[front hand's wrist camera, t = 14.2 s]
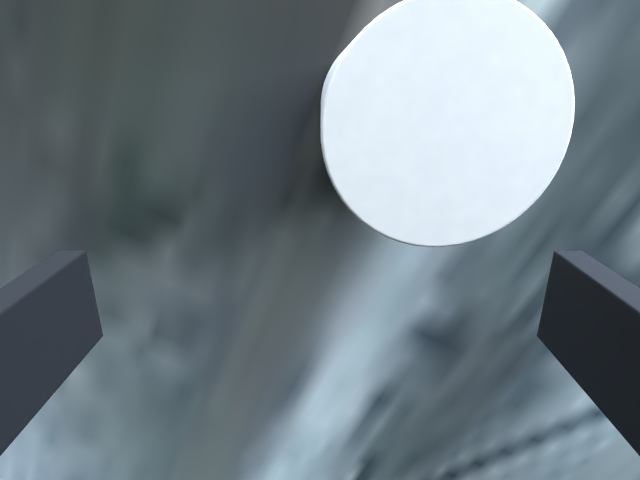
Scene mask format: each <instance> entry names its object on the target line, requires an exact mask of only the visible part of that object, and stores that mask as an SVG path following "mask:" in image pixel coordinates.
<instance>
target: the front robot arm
mask: <svg viewBox="0 0 640 480" xmlns="http://www.w3.org/2000/svg"><path fill="white" fill-rule="evenodd" d="M102 336H103V334H102V329H101V324H100V319H99V314H98V309H97V304H96V299H95V294H94V289H93V284H92V279H91V274H90V269H89V264H88V259H87V254H86V251H58V252H56V253H55V254H53V255H51V256H50V257H48V258H47V259H45V260H44V261H42V262H41V263H39V264H38V265H36V266H34V267H33V268H31V269H30V270H28V271H27V272H25V273H24V274H22V275H21V276H19V277H17V278H16V279H14V280H13V281H11V282H10V283H8V284H7V285H5V286H4V287H2V288H0V456H1V454H2V453H3V452H4V451H5V450H6V449H7V447H8V446H9V445H10V444H11V443H12V442H13V440H14V439H15V438H16V437H17V436H18V435H19V433H20V432H21V431H22V430H23V429H24V428H25V426H26V425H27V424H28V423H29V422H30V420H31V419H32V418H33V417H34V416H35V415H36V413H37V412H38V411H39V410H40V409H41V408H42V406H43V405H44V404H45V403H46V402H47V401H48V399H49V398H50V397H51V396H52V395H53V394H54V392H55V391H56V390H57V389H58V388H59V387H60V385H61V384H62V383H63V382H64V381H65V380H66V378H67V377H68V376H69V375H70V374H71V373H72V371H73V370H74V369H75V368H76V367H77V365H78V364H79V363H80V362H81V361H82V360H83V358H84V357H85V356H86V355H87V354H88V353H89V351H90V350H91V349H92V348H93V347H94V346H95V344H96V343H97V342H98V341H99V340H100V339H101V337H102ZM537 336H538V337H539V339H540V340H541V341H542V342H543V343H544V344H545V346H546V347H547V348H548V349H549V350H550V351H551V353H552V354H553V355H554V356H555V357H556V358H557V360H558V361H559V362H560V363H561V364H562V365H563V367H564V368H565V369H566V370H567V371H568V373H569V374H570V375H571V376H572V377H573V378H574V380H575V381H576V382H577V383H578V384H579V385H580V387H581V388H582V389H583V390H584V391H585V392H586V394H587V395H588V396H589V397H590V398H591V399H592V401H593V402H594V403H595V404H596V405H597V406H598V408H599V409H600V410H601V411H602V412H603V413H604V415H605V416H606V417H607V418H608V419H609V421H610V422H611V423H612V424H613V425H614V426H615V428H616V429H617V430H618V431H619V432H620V433H621V435H622V436H623V437H624V438H625V439H626V440H627V442H628V443H629V444H630V445H631V446H632V447H633V449H634V450H635V451H636V452H637V453H638V454H639V456H640V288H638V287H636V286H635V285H633V284H632V283H630V282H629V281H627V280H626V279H624V278H623V277H621V276H619V275H618V274H616V273H615V272H613V271H612V270H610V269H609V268H607V267H606V266H604V265H602V264H601V263H599V262H598V261H596V260H595V259H593V258H592V257H590V256H589V255H587V254H585V253H584V252H582V251H554V254H553V259H552V264H551V269H550V274H549V279H548V284H547V289H546V294H545V299H544V304H543V309H542V314H541V319H540V324H539V329H538V334H537Z"/></svg>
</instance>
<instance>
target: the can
mask: <svg viewBox="0 0 640 480" xmlns="http://www.w3.org/2000/svg"><path fill="white" fill-rule="evenodd" d="M574 105H575V101H574V87H573V82H572V77H571V72H570V68H569V65H568V63H567V60H566V57H565V55H564V52H563V50H562V49H561V47H560V45H559V43H558V41H557V39H556V38H555V36H554V35H553V34H552V32H551V31H550V30H549V28H548V27H547V26H546V25H545V23H544V22H543V21H541V20H540V19H539V18H538V17H537V16H536V15H535V14H534V13H533V12H532V11H530V10H529V9H528V8H526V7H525V6H523V5H522V4H520V3H519V2H517V1H515V0H404V1H402V2H400V3H398V4H396V5H394V6H392V7H391V8H389V9H388V10H386V11H385V12H383V13H382V14H380V15H379V16H378V17H376V18H375V19H374V20H373V21H372V22H371V23H370V24H368V25H367V26H366V27H365V28H364V29H363V30H362V31H361V32H360V33H359V34H358V35H357V37H356V38H355V39H354V40H353V41H352V42H351V43H350V44H349V45H348V46H347V47H346V49H345V50H344V51H343V52H342V53H341V54H340V55H339V56H338V57H337V59H336V60H335V62H334V63H333V65H332V66H331V68H330V70H329V72H328V74H327V77H326V79H325V82H324V85H323V90H322V96H321V146H322V153H323V158H324V162H325V165H326V169H327V172H328V175H329V177H330V179H331V182H332V184H333V186H334V188H335V190H336V191H337V193H338V195H339V196H340V198H341V200H342V201H343V202H344V203H345V205H346V206H347V207H348V208H349V210H350V211H351V212H352V213H353V214H354V215H355V216H356V217H357V218H358V219H359V220H361V221H362V222H363V223H364V224H366V225H367V226H369V227H370V228H371V229H373V230H374V231H376V232H378V233H380V234H382V235H384V236H386V237H388V238H391V239H393V240H396V241H399V242H402V243H406V244H410V245H415V246H425V247H445V246H453V245H460V244H463V243H467V242H471V241H475V240H477V239H480V238H482V237H485V236H488V235H490V234H492V233H494V232H496V231H497V230H499V229H501V228H503V227H505V226H506V225H508V224H509V223H511V222H512V221H514V220H515V219H516V218H518V217H519V216H520V215H521V214H522V213H523V212H525V211H526V210H527V209H528V208H529V207H530V206H531V205H532V204H533V203H534V202H535V201H536V200H537V199H538V198H539V197H540V195H541V194H542V193H543V191H544V190H545V189H546V187H547V186H548V185H549V184H550V182H551V180H552V179H553V177H554V175H555V174H556V172H557V170H558V168H559V166H560V164H561V162H562V160H563V157H564V155H565V153H566V150H567V146H568V143H569V140H570V137H571V132H572V126H573V121H574Z"/></svg>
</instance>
